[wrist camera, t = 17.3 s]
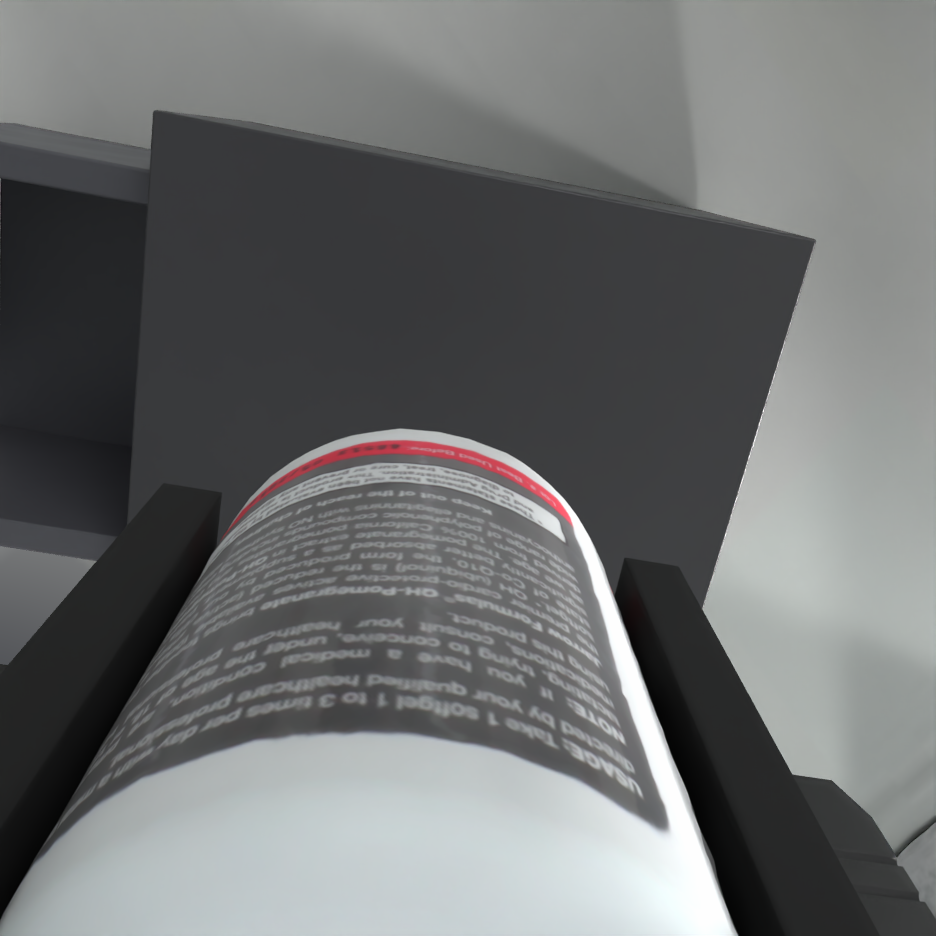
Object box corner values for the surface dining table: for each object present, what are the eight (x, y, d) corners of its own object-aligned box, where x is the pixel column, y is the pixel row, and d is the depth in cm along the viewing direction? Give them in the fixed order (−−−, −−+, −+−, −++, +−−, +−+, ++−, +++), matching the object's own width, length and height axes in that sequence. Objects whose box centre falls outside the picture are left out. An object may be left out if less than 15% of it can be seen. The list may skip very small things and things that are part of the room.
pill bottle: (132, 570, 12) (-848, 1876, 3) (448, 336, 11) (436, 1213, 2) (381, 824, 14) (239, 2210, 4) (678, 637, 13) (1278, 1929, 3)
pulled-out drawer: (-220, 418, 30) (-439, 508, 22) (-247, 46, 26) (-521, 7, 19) (336, 509, 31) (301, 620, 24) (386, 169, 27) (363, 178, 20)
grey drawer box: (212, 494, 32) (119, 632, 23) (249, 121, 28) (152, 109, 19) (610, 559, 33) (671, 714, 24) (702, 210, 29) (817, 239, 20)
